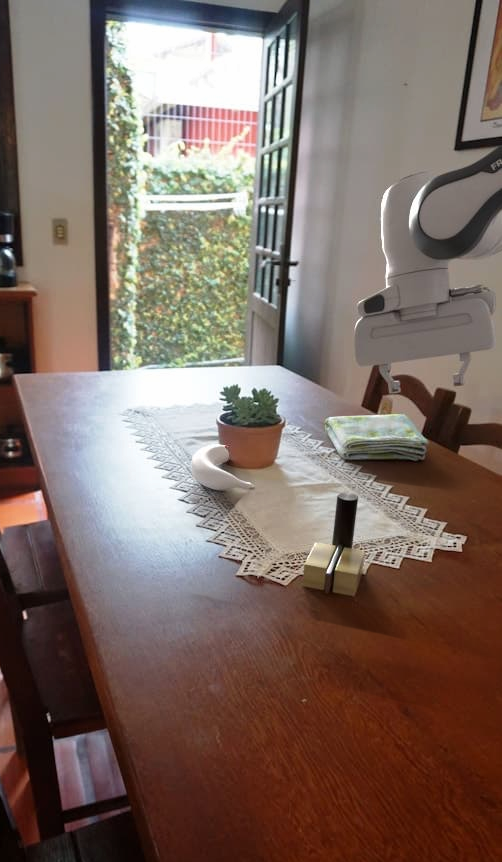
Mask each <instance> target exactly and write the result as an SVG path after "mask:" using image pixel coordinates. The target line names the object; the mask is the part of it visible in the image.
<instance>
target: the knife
mask: <svg viewBox="0 0 502 862" xmlns="http://www.w3.org/2000/svg"><path fill="white" fill-rule="evenodd" d="M336 495H337V496H336V504H335V514H334V523H333V532H332V533H333V534H332V542H331V545H335V546H336V553H335V555H334V557H333V560H332V562H331V564H330V567H329V569H328V571H327V574H326V584H325V589H324V594H325V595H329V593H330V591H331V588H332V587H333V582H334V573H335V569H336V566H337V564H338V562H339V559H340V557H341V554H342V552H343V549H344V547H346V548H351V549H353V543H354V535H355V528H356V519H357V510H358V503H359V502H358V501H359V496H358V495H357V494H356V493H353V492H347V491H346V492H345V491H344V492H343V491H342V492H339V493H337V494H336Z"/></svg>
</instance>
